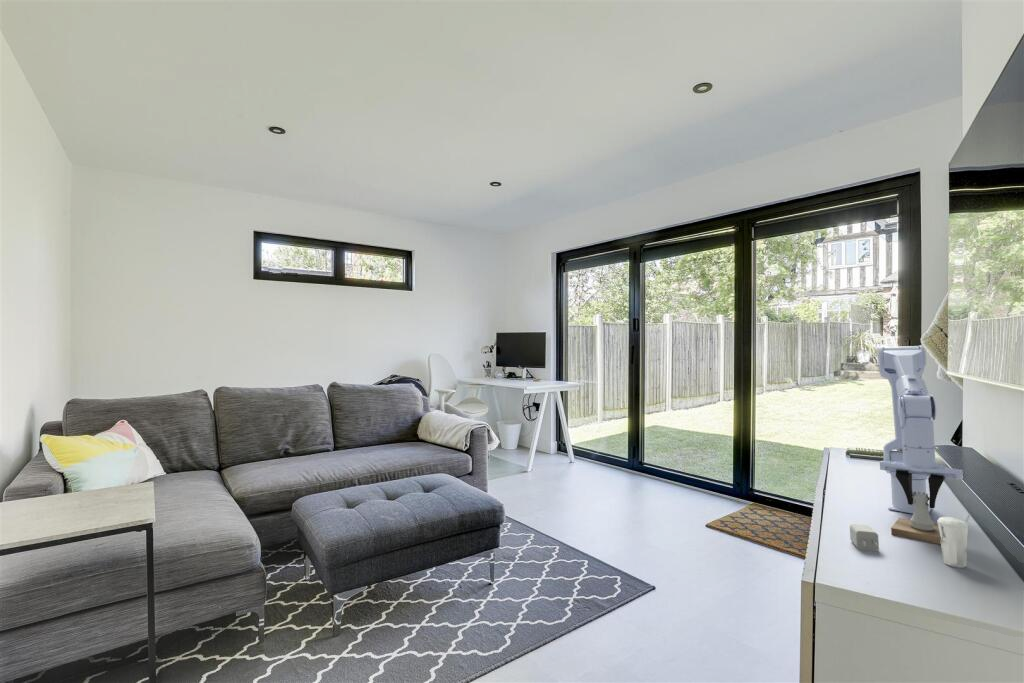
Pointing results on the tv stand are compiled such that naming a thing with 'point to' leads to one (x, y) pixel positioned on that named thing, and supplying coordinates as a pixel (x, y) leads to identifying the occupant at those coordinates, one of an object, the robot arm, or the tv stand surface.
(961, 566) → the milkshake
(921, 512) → the rook chess piece
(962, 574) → the tv stand surface
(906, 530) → the walnut plinth
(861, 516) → the tv stand surface
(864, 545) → the usb wall charger
